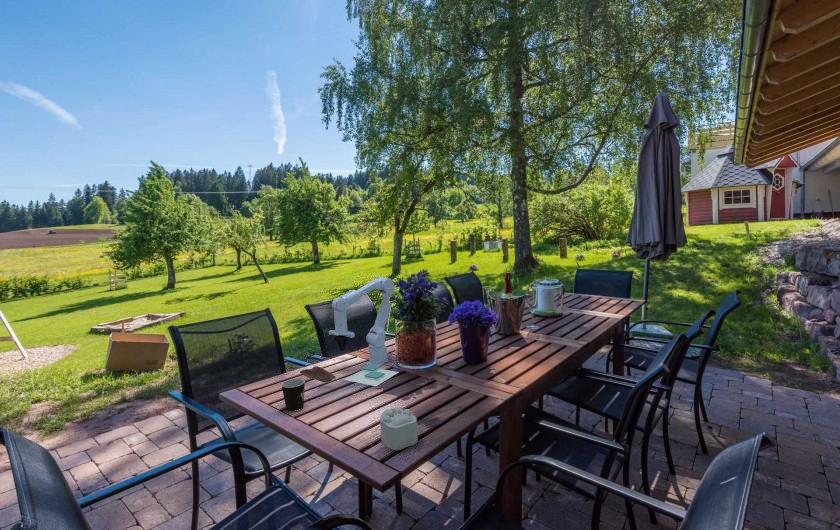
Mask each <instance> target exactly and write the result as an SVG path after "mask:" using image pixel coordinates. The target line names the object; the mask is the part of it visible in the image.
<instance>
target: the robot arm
mask: <svg viewBox="0 0 840 530" xmlns="http://www.w3.org/2000/svg"><path fill="white" fill-rule="evenodd" d="M394 288H395V283H394V281H393V280H392V279H391V278H388V277H383V276H378V277H376V278H374V279H372V280H371V281H369V282H368V283H366V284H365V285H363V286H362V287H360V288H359V289H357V290H355V289H350V290H348V292H346V293H345V294H341V295H340V297H336V298H334V299H333V301H332V303H331V307H332V308H333V314H334V315H333V317H334V330H333V329H331V330H328V335H329V336H331V335H332V336H334V338H333V339H334V340H335V341H336V343H337V345H338V349H339V351H340V352H344V351H345V350H346V346H347V342H348V340H349V338H350V339H351V338H352V339H353V338H355V335H356V334H355V332H353V331H349V330H348V321H347V309H348V307H349V306H351V305H352V304H355V303H356V302H358V301H360V299H361V298H360V297H362V296H363V295H366V294H368V293H370V292H372V291H373V290H378V291H379V292H380V294H381V295H382V300H381V303H380V305H379V309H378V312H377V315H376V318H375V321H374V325H373V326H372V327H371V328H370V330H369V332H368V333H367V334H366V336H365V337H366V338H365V339H366V342H367V343H368V354H369V356H368V359H369V361H367V362H366V363H365V364H366V365H368V364H373V365H378V366H381V365H383V364H385V363H387V362H389V361H390V359H388V347H387V345H386V344H385V343H386V331H385V328H386V324H387V322H388V321H387V320H388V318H389V316H390V315H389V314H390V311H391V309H392V307H393V306H392V305H393V303H392V304H390V303H389V299H390V295H391V294H394V295H395V289H394Z"/></svg>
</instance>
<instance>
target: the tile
mask: <svg viewBox="0 0 840 530" xmlns="http://www.w3.org/2000/svg"><path fill="white" fill-rule="evenodd" d="M364 376H365V379H369V380H375V381H378V380H380V379H381V378H383V377H385V373H382V372H376V371H371V372H369V373H367V374H366V375H364Z"/></svg>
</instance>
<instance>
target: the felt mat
mask: <svg viewBox="0 0 840 530" xmlns="http://www.w3.org/2000/svg"><path fill="white" fill-rule="evenodd" d="M376 372H382V373H385V377H383V378H381V379H380V380H378V381H375V380H369V379H365V376H364V375H366V374H367V373H369V372H364V371H362V370H360V371H357V373H354V374H351V376H348V377H346V378H345V379H343V380H344V381H349V382H351V383H352V382H353V383H358V384H363V385H368V386H373V387H378V385H380V384H382V383H383V382H385V381H387V380H389V379H390V378H392V377H393V376H396V375H397V374H399V371H395V370H389V369H382V368H381V369H380V370H378V371H376Z"/></svg>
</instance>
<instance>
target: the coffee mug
mask: <svg viewBox="0 0 840 530" xmlns="http://www.w3.org/2000/svg"><path fill="white" fill-rule="evenodd" d="M305 384H306V381H305V380H304V379H302V378H291V379H288V380H285V381H283V382H282V383H281V390H282V394H283V400H284V404H285V409H286V411H287V412H289V411H295V410H299V409H301V408H302V409H303V408H304V407H303V406H304V404H305V387H306V385H305ZM302 409H301V410H302ZM299 411H300V410H299ZM295 412H296V411H295Z"/></svg>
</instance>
